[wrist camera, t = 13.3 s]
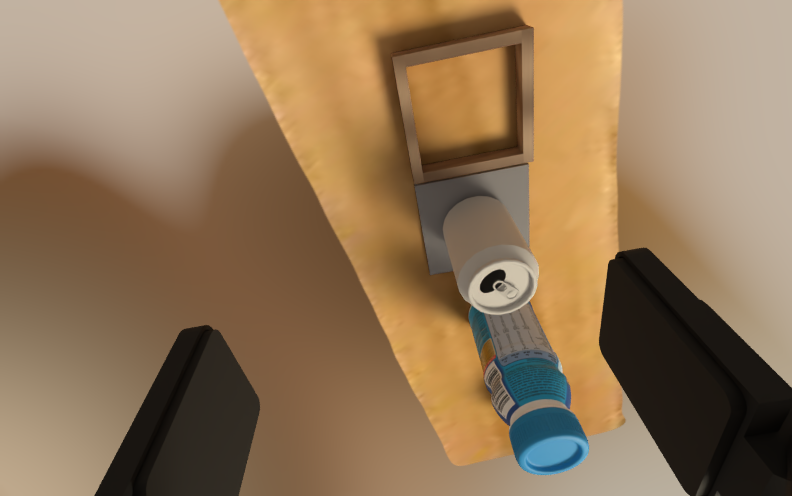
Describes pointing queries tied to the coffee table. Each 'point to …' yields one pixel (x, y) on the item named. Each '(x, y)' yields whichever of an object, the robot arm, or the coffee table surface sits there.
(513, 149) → the wooden picture frame
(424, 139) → the coffee table surface
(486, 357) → the beverage bottle
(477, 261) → the can
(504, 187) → the mat
